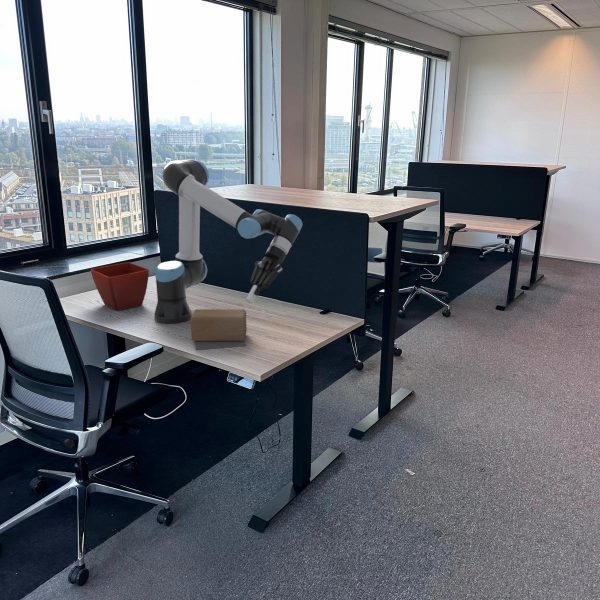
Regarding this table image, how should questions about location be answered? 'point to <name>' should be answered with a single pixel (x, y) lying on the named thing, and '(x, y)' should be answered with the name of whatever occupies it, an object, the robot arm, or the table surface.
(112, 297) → the plant pot
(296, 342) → the table surface
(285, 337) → the table surface
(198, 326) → the block
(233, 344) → the mat
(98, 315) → the table surface
